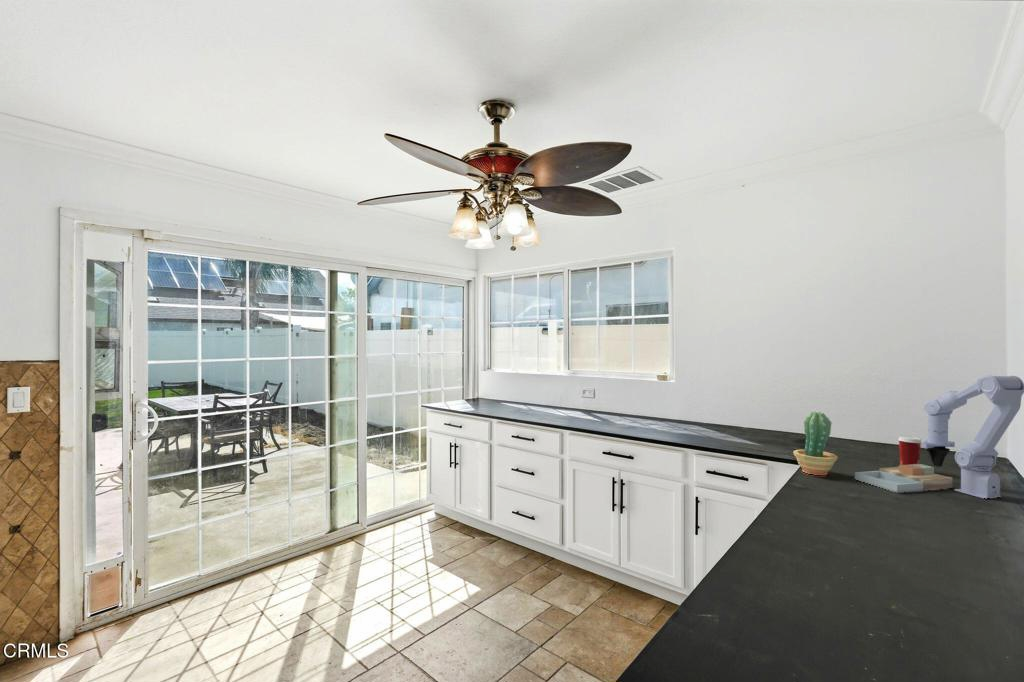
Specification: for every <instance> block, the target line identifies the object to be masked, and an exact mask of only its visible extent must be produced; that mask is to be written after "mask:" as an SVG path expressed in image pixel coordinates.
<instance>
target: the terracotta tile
mask: <svg viewBox="0 0 1024 682" xmlns="http://www.w3.org/2000/svg"><path fill="white" fill-rule="evenodd" d="M898 467H899V472H902V473H905V474H909V475H923V468H921V467H917V466H913V465H900V464H899V465H898Z"/></svg>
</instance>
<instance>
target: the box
mask: <svg viewBox="0 0 1024 682" xmlns="http://www.w3.org/2000/svg"><path fill="white" fill-rule="evenodd" d="M855 479H856V480H859V481H861V482H860V483H863V482H865V483H864V484H866V483H868V484H867V485H869V484H871V485H870V486H872V485H874V486H873V487H875V486H877V487H876V488H879V487H880V489H882V488H883V490H885V489H886V491H888V490H889V491H888V492H892V493H895V492H896V493H895V494H903V493H904V492H905V493H917V492H924V491H923V483H922V482H918V481H915V480H911V479H907V478H904V477H900V476H896V475H893V474H889V473H886V472H882V471H879V470H872V471H871V470H870V471H856V472H854V480H855ZM856 480H855V481H856ZM859 481H858V482H859Z"/></svg>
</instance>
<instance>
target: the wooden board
mask: <svg viewBox="0 0 1024 682" xmlns="http://www.w3.org/2000/svg"><path fill="white" fill-rule="evenodd" d="M878 469H879V470H878V471H882V472H886V473H889V474H893V475H896V476H900V477H904V478H907V479H911V480H915V481H918V482H922V483H923V491H922V492H927V491H928V490H929V491H930V490H931V491H941V490H940V489H943V490H949V489H948V488H952V489H953V477H951V476H946V475H942V474H938V473H935V472H934V474H925V475H909V474H905V473H902V472H899V466H895V467H893V466H892V467H879V468H878ZM931 491H930V492H931Z"/></svg>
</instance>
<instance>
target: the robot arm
mask: <svg viewBox="0 0 1024 682" xmlns="http://www.w3.org/2000/svg"><path fill="white" fill-rule="evenodd" d="M982 394H984V395H985V396H986V398H987V399H988V401H989V402H991V403H992V404H993V405H994V406H993V408H992V409H991V411H990V413H989V415H988V416H987V418H986V420H985V421H984V422H983V424H982V425H981V428H980V429H979V430H978V432H977V434H976V436H975V437H974V439H973V440H972V441H971V442H968V443H966V444H965V445H963V446H962V448H960V449H959V450H957V451H956V452H955V454H954V460H955V462H956V463H957V465H958V466H959V468H960V488H954V491H955V492H959V493H962V494H966V495H970V496H974V497H977V498H981V499H984V498H985V499H984V500H986V499H987V498H990V499H998V498H997V497H1001V498H1002V495H1001V478H1000V476H999V475H998V474H997V473H995V472H992V468H994V467H995V466H996V464H997V457H998V455H999V452H998V451H997V450H996V449H995V448H996V446H997V445H998V444H999V442H1000V440H1001V439H1002V437H1003V435H1004V434H1005V432H1006V431H1007V429H1008V428H1009V426H1010V425H1011V424H1012V422H1013V420H1014V418H1015V417H1016V415H1017V414H1018V412H1019V411H1020V409H1021V405H1022V397H1023V395H1024V382H1023V380H1022V379H1021V377H1018V376H1017V375H1008V376H1007V375H984V376H983V377H980V378H977V379H976V381H975V382H973V383H972V384H970V385H968V386H966V387H965V388H963V389H962V390H960V391H957V390H949V391H947V394H945V395H943V396H938V397H937V398H936V399H928V400H927V401H925V403H924V408H923V409H924V411H925V412H926V413H927V415H928V416H927V417H928V420H927V421H928V422H927V424H928V425H927V427H928V428H927V439H926V440H924V441H921V442H922V443H921V448H920V449H922V448H923V449H926V451H927V453H928V454H929V457H930V458H931V462H932V465H933V467H939V468H940V467H942V466H943V465H944V460H946V459H945V458H946V457H947V455H948V454H949V453H950V452H951V450H950V447H951V448H955V445H956V442H955V441H950V440H949V420H950V419H951V415H952V414H953V411H954V410H956V409H959V408H960V407H962V406H964V405H967V404H968V400H970V399H972V398H974V397H977V396H980V395H982ZM987 500H988V499H987Z"/></svg>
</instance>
